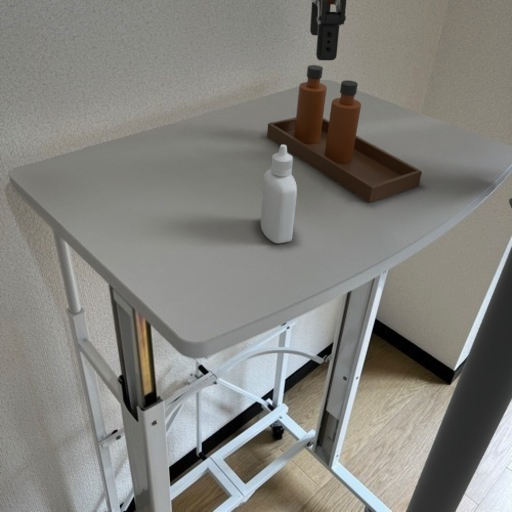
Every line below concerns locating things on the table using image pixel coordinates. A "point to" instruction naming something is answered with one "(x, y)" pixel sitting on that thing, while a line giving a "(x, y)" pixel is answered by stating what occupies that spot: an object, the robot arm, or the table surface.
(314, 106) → the amber bottle far
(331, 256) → the table surface
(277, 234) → the eye dropper bottle
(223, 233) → the table surface
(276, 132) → the tray
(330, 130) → the amber bottle middle
